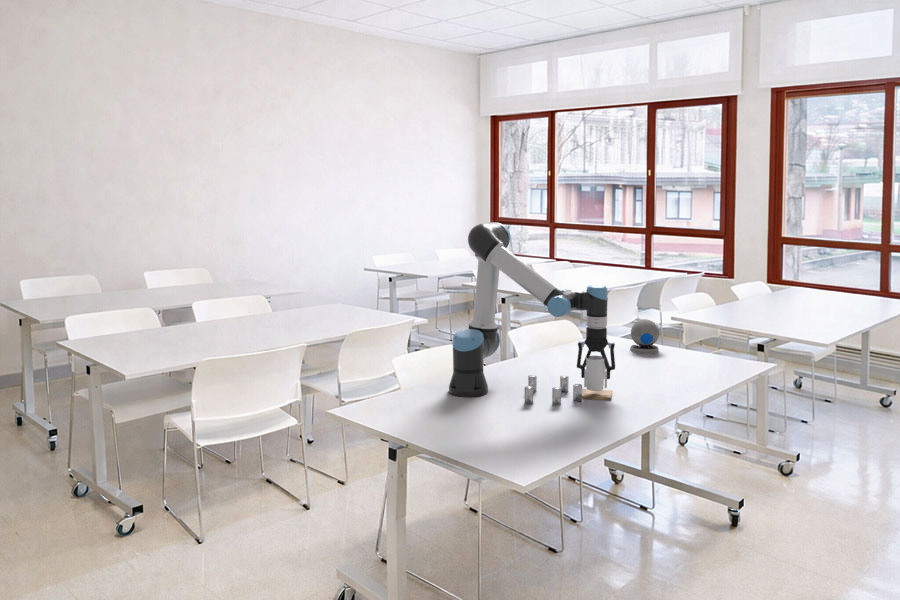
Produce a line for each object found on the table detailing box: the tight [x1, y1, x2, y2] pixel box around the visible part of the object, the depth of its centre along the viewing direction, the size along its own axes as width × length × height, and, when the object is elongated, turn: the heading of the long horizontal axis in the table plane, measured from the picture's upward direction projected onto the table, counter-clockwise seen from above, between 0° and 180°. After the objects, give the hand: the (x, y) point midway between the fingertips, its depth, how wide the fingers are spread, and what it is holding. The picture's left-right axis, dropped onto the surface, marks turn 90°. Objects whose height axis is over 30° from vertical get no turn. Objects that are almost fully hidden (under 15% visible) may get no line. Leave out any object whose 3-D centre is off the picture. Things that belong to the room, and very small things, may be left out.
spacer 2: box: [523, 385, 534, 406], centre depth 273 cm, size 3×3×6 cm
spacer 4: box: [559, 374, 569, 394], centre depth 287 cm, size 3×3×6 cm
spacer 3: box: [551, 386, 562, 406], centre depth 271 cm, size 3×3×6 cm
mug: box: [585, 355, 607, 391], centre depth 280 cm, size 10×7×12 cm, turn 131°
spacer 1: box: [527, 374, 538, 393], centre depth 288 cm, size 3×3×6 cm
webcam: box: [629, 318, 660, 354], centre depth 354 cm, size 13×13×15 cm
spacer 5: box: [572, 383, 583, 403], centre depth 275 cm, size 3×3×6 cm
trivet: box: [582, 388, 613, 401], centre depth 282 cm, size 12×10×1 cm
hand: (595, 386), depth 281 cm, fingers closed on mug, 7 cm apart
